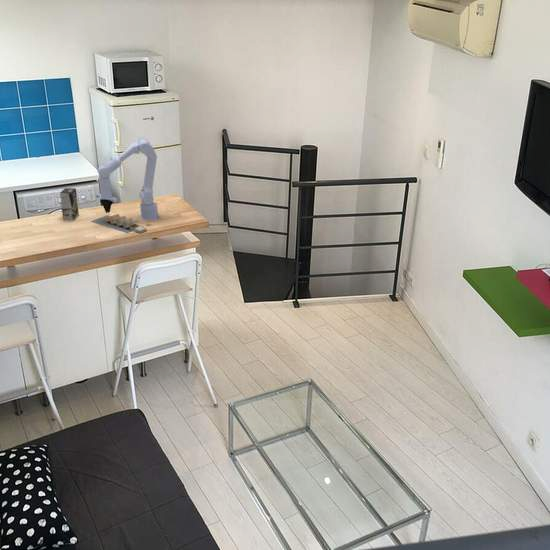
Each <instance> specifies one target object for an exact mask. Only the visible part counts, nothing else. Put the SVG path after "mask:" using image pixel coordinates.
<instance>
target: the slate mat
mask: <svg viewBox="0 0 550 550" xmlns="http://www.w3.org/2000/svg"><path fill="white" fill-rule="evenodd" d="M110 216H111V215H104V216H102V217H99V218H97V219H93V220H90V222H91V223H94V224H98V225H100V226H104V227H107V228H110V229H113V230H116V231H119V232H121V233H122V232H123V233H126V234H129V233H132V232H133V231H131V230H130V229H129V227H127V228H124V226H123V225H125V224H123V225H120V226H117V224H116V223H114V224H111V223H110V221H108V222H105V221H104V219H105V218H108V217H110ZM138 225H139V226H142V227H144V226H143V225H140V224H138Z"/></svg>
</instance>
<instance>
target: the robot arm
mask: <svg viewBox="0 0 550 550" xmlns="http://www.w3.org/2000/svg"><path fill="white" fill-rule="evenodd" d="M141 153H142V154H143V155H144V156H145V157H146V165H145V173H144V177H143V178H144V179H143V185H142V187H141V190H140V192H139V194H138V195H139V198H140V202H139V204H140V218H139V221H158V218H159V210H158V202H154V200H155V199H154V195H153V194H154V192H153V185H154V179H155V172H156V166H157V165H156V164H157V159H158V156H157V153H156V151H155V149H154V147H153V145H152V144H151V143H150V142H149V141H148V140H147V139H146V138H143V137H142V138H141V137H139V139H137V141H134V142H133V143H132V144H131V145H130V146H129V147H127V149H125V150H124V151H123V152H122V153H121V154H120V155H118V156H113V157H112V156H111V157H110V158H109V160H108V161H107V162H105V163H103V164H102V165H100V166H98V169H97V174H98V179H99V181H98V182H99V190H100V192H97V193H95V197H96V198H99V199H100V200H99V202H100V203H101V205H102V207H103V209H104V212H105V213H106V214H109V213H110V212H111V208H112V205H113V203H114V204H115V203H117V202H118V198H117V197H115V196H114V195H112V186H111V185H112V184H111V178H110V176H111V174H112V173H114V172H115V171H116V170H117V169H118V168H120V167H121V166H122V163H123V162H124V161H125V160H127V159H128V158H129V157H131V156H132V155H134V154H136V155H137V154H138V155H139V154H141Z"/></svg>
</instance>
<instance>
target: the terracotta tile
mask: <svg viewBox="0 0 550 550" xmlns="http://www.w3.org/2000/svg"><path fill="white" fill-rule="evenodd" d="M109 216H110V217H108V218H105V219H104V221H105V222H108V221H111V220H114V219H117V218H120V217H121V216H120V214H119V213H116V214H113V215H109Z"/></svg>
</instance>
